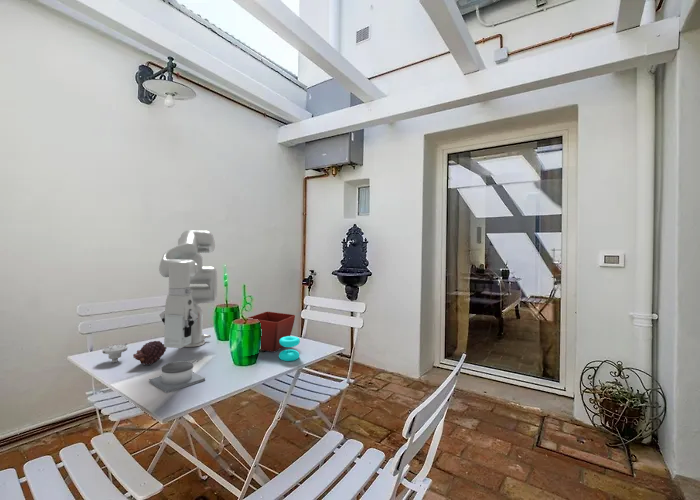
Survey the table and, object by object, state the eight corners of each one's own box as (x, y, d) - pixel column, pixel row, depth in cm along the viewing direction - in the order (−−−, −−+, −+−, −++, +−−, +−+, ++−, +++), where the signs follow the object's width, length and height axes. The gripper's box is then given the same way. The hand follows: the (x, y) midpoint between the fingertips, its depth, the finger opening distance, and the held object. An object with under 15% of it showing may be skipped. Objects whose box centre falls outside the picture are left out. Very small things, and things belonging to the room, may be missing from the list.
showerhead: (133, 344, 156) (109, 350, 147) (132, 360, 156) (109, 366, 147) (121, 341, 160) (98, 346, 152) (121, 356, 160) (97, 362, 152)
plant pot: (276, 355, 169) (277, 322, 169) (244, 350, 175) (245, 318, 175) (295, 344, 187) (296, 314, 186) (266, 340, 193) (266, 311, 193)
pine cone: (157, 355, 163) (157, 335, 163) (175, 357, 161) (175, 336, 161) (126, 368, 146) (127, 346, 145) (146, 371, 144) (147, 348, 144)
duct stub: (186, 370, 145) (186, 357, 145) (205, 380, 136) (205, 365, 136) (149, 381, 133) (149, 366, 133) (166, 392, 124) (166, 376, 124)
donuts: (275, 337, 164) (291, 334, 172) (274, 358, 165) (290, 353, 172) (287, 342, 158) (304, 338, 165) (287, 363, 158) (303, 358, 165)
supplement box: (181, 348, 130) (182, 316, 130) (163, 347, 131) (164, 315, 131) (192, 343, 138) (192, 312, 138) (174, 342, 138) (175, 311, 138)
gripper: (204, 291, 136) (203, 334, 136) (166, 289, 139) (165, 331, 140) (192, 294, 129) (191, 340, 129) (153, 291, 132) (152, 336, 132)
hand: (178, 335), depth 134 cm, fingers closed on supplement box, 7 cm apart
